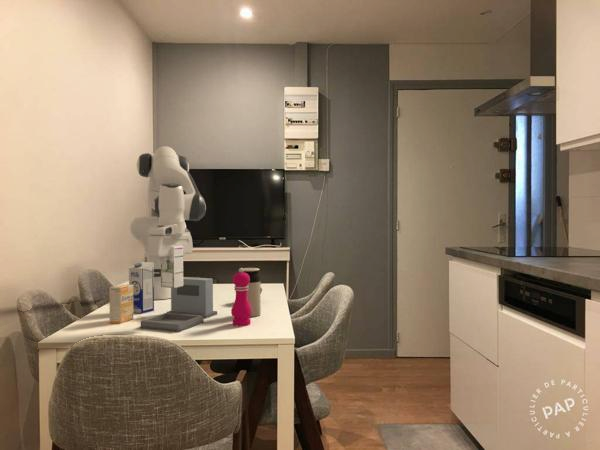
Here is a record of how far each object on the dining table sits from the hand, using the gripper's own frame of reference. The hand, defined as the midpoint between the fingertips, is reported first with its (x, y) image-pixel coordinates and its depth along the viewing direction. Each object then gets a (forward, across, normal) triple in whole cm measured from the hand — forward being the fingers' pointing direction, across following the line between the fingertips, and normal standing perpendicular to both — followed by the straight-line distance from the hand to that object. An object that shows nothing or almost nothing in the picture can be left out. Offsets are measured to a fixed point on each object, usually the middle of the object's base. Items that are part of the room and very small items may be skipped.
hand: (172, 268), depth 153 cm
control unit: (+20, -17, -4) cm, 27 cm away
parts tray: (+20, 0, 0) cm, 20 cm away
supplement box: (+20, +1, -22) cm, 30 cm away
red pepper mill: (+20, -10, +22) cm, 32 cm away
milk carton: (+20, -15, -27) cm, 37 cm away
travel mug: (+20, -24, +18) cm, 36 cm away
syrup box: (+7, 0, 0) cm, 7 cm away
